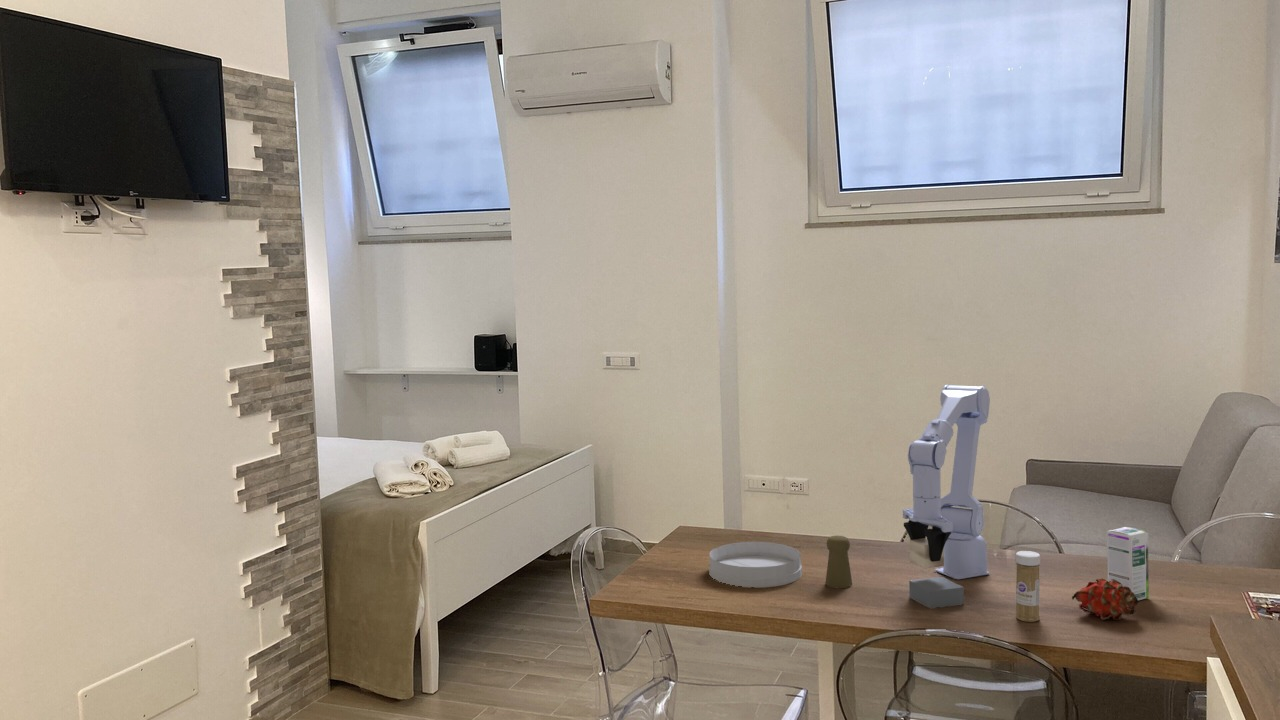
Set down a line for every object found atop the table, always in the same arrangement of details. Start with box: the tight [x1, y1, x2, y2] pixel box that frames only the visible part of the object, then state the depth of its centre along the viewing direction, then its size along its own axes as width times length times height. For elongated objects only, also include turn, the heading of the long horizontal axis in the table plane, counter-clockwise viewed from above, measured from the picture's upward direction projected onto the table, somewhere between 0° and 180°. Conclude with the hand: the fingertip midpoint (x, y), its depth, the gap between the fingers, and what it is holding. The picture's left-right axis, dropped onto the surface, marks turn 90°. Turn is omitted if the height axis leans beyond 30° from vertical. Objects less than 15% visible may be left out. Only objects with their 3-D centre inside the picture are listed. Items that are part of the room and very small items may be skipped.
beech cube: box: [909, 537, 944, 569], centre depth 206 cm, size 5×5×5 cm
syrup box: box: [1106, 526, 1150, 601], centre depth 201 cm, size 6×6×14 cm
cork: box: [825, 535, 853, 589], centre depth 216 cm, size 6×6×11 cm
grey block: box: [908, 576, 964, 609], centre depth 203 cm, size 8×8×4 cm
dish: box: [708, 541, 803, 589], centre depth 227 cm, size 22×22×5 cm
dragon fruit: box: [1071, 578, 1139, 621], centre depth 190 cm, size 8×8×12 cm
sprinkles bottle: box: [1015, 550, 1041, 623], centre depth 190 cm, size 5×5×13 cm
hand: (927, 557), depth 206 cm, fingers closed on beech cube, 5 cm apart
